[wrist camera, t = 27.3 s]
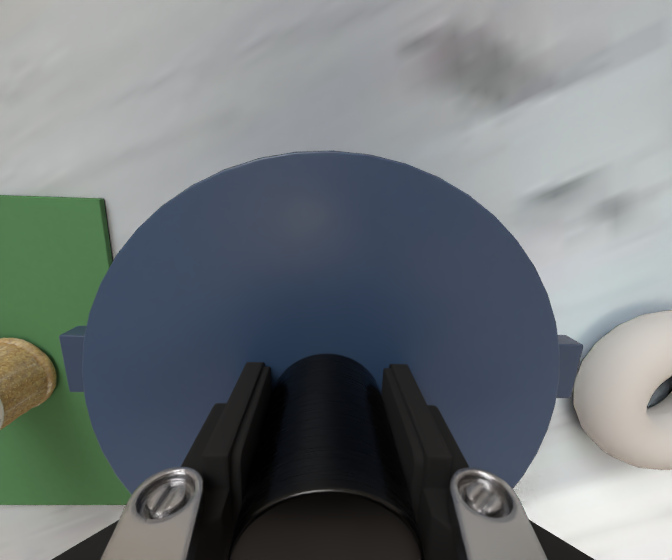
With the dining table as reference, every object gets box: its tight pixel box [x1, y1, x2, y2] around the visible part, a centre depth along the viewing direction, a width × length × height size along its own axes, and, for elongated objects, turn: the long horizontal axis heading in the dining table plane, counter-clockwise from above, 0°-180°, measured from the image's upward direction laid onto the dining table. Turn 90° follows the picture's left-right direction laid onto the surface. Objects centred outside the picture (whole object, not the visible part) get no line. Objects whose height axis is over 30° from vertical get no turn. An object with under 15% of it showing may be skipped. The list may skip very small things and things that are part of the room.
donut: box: [574, 310, 672, 470], centre depth 19 cm, size 10×3×10 cm
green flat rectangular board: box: [0, 195, 131, 505], centre depth 19 cm, size 20×12×1 cm, turn 178°
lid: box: [82, 151, 560, 560], centre depth 9 cm, size 16×16×6 cm
